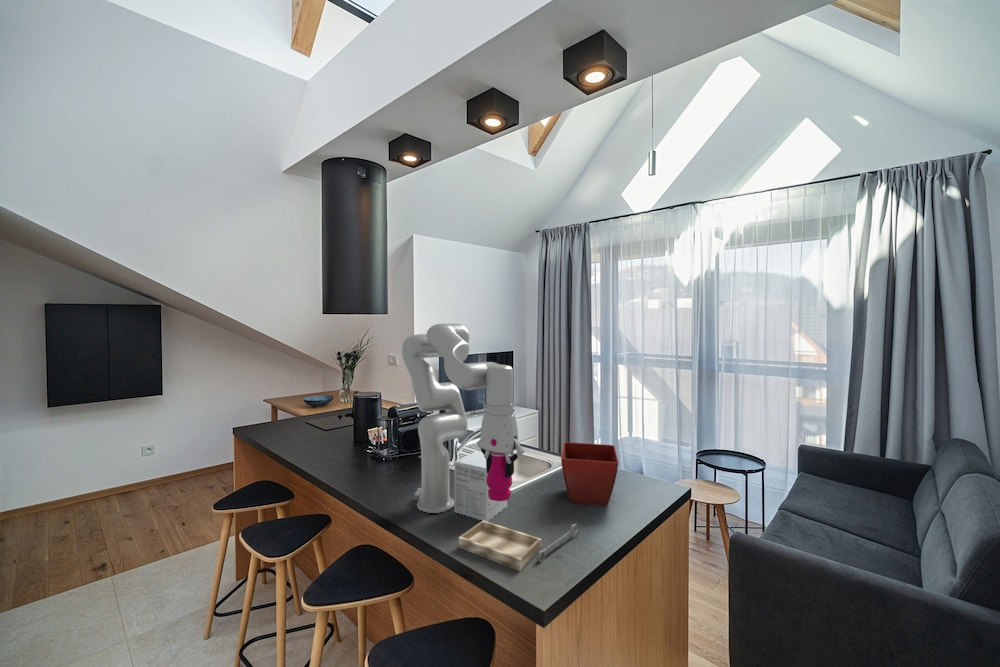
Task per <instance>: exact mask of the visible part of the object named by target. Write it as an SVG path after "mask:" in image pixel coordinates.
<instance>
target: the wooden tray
mask: <svg viewBox="0 0 1000 667" xmlns="http://www.w3.org/2000/svg"><path fill="white" fill-rule="evenodd" d="M542 540H543V539H542V538H540V537H537V536H534V535H531V534H528V533H525V532H522V531H518V530H515V529H512V528H510V527H506V526H503V525H499V524H496V523H493V522H489V521H488V522H487V521H484V520H482V521H479V523H477V524H475V525H474V526H473V527H471V528H470V529H469V530H467V531H466V532H465V533H463V534H461V535H460V536H458V548H459V547H462V548H464V549H466V550H469V551H472V552H474V553H476V554H479V555H481V556H484V557H486V558H489V559H492V560H494V561H497V562H499V563H502V564H504V565H503V566H505V565H506V566H505V567H507V566H509V567H508V568H510V567H512V568H511V569H513V568H514V569H513V570H515V569H516V570H515V571H518V570H519V571H518V572H521V571H522V570H523V569H524V568H525V567H526V566H527V565H528V564H529V563H530V562H531V561H532V560H533V559H534V558H535V557H537V554H538V552H539V551H540V550H543V548H542V544H543V543H542ZM476 554H475V555H476ZM481 556H480V557H481ZM486 558H485V559H486ZM489 559H488V560H489ZM494 561H493V562H494ZM497 562H496V563H497ZM499 563H498V564H499ZM502 564H501V565H502Z"/></svg>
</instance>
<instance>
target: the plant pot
mask: <svg viewBox="0 0 1000 667" xmlns="http://www.w3.org/2000/svg"><path fill="white" fill-rule="evenodd" d="M560 461H561V468H562V470H561V471H562V474H563V480H564V484H565V488H566V491H567V496H568V498H569V501H570V503H573V504H582V505H594V506H604V507H605V506H608V505H609V501H610V500H611V496H612V494H613V491H614V489H615V488H614V487H615V483H616V478H617V474H618V469H619V459H618V455H617V451H616V446H615V444H614V445H611V444H602V443H601V444H600V443H585V442H584V443H583V442H568V441H567V442H563V444H562V451H561V457H560Z"/></svg>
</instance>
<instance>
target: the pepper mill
mask: <svg viewBox="0 0 1000 667" xmlns="http://www.w3.org/2000/svg"><path fill="white" fill-rule="evenodd" d="M490 442H491V445H492V446H496V444H497V443H496V442H497V441H496V440H495V439H492V440H491V441H490ZM490 454H491V455H492V464H491V467H490V470H489V472H488V475H487V481H486V483H487V486H488V487H489V488H490V489H489V490H488V497H489V498H490V499H491V500H494V501H505V500H507V501H508V500H510V499H511V489H510V488H511V487H512V485H513V477H512V476H513V475H512V476H510V477H509V478H506V477H505V464H506V463H507V460H506V456H505V454H502V453H497V452H492V451H491V452H490Z"/></svg>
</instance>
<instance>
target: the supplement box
mask: <svg viewBox="0 0 1000 667" xmlns="http://www.w3.org/2000/svg"><path fill="white" fill-rule="evenodd" d="M487 475H488V473H487V468H486V459H485V458H484V454H483V453H482V451H478V450H476V451H474V452H472V453H470V454H468V455H465V456H463V457H461V458H459V459H457V460H455V461H454V513H455V512H457V513H460V514H459V515H461V514H463V515H462V516H464V515H466V516H465V517H467V516H470V517H473V518H472V519H474V518H476V519H475V520H477V519H479V520H478V521H480V520H484V521H487V522H489V521H491V520H492V519H493V518H495V517H496V516H497V515H499V514H500V513H501V512H503V511H504V510H505V509H507V508H508V500H505V501H494V500H491V499H490V498H489V497H488V490H489V489H490V488H489V487H488V486H487V483H486V481H487ZM504 508H505V509H504ZM503 509H504V510H503ZM499 512H500V513H499ZM457 513H456V514H457ZM498 513H499V514H498ZM495 515H496V516H495ZM494 516H495V517H494ZM470 517H469V518H470ZM490 519H491V520H490Z"/></svg>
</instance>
